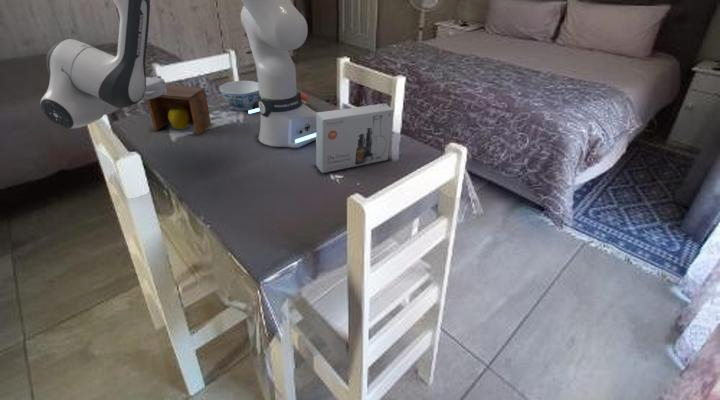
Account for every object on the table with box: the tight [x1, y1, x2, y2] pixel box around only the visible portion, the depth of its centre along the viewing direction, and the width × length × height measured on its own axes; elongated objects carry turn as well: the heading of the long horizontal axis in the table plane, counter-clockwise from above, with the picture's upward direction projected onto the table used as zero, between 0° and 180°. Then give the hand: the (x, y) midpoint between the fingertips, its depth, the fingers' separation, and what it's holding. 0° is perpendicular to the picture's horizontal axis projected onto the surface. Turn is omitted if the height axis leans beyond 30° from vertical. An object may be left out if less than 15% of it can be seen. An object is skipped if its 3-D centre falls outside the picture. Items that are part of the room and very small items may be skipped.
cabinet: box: [146, 83, 212, 136], centre depth 125 cm, size 9×15×12 cm, turn 81°
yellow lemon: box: [168, 106, 190, 130], centre depth 126 cm, size 6×6×8 cm
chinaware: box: [218, 80, 259, 112], centre depth 144 cm, size 15×15×8 cm
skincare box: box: [315, 103, 395, 174], centre depth 108 cm, size 21×6×16 cm, turn 117°
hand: (142, 77), depth 107 cm, fingers open, 8 cm apart
